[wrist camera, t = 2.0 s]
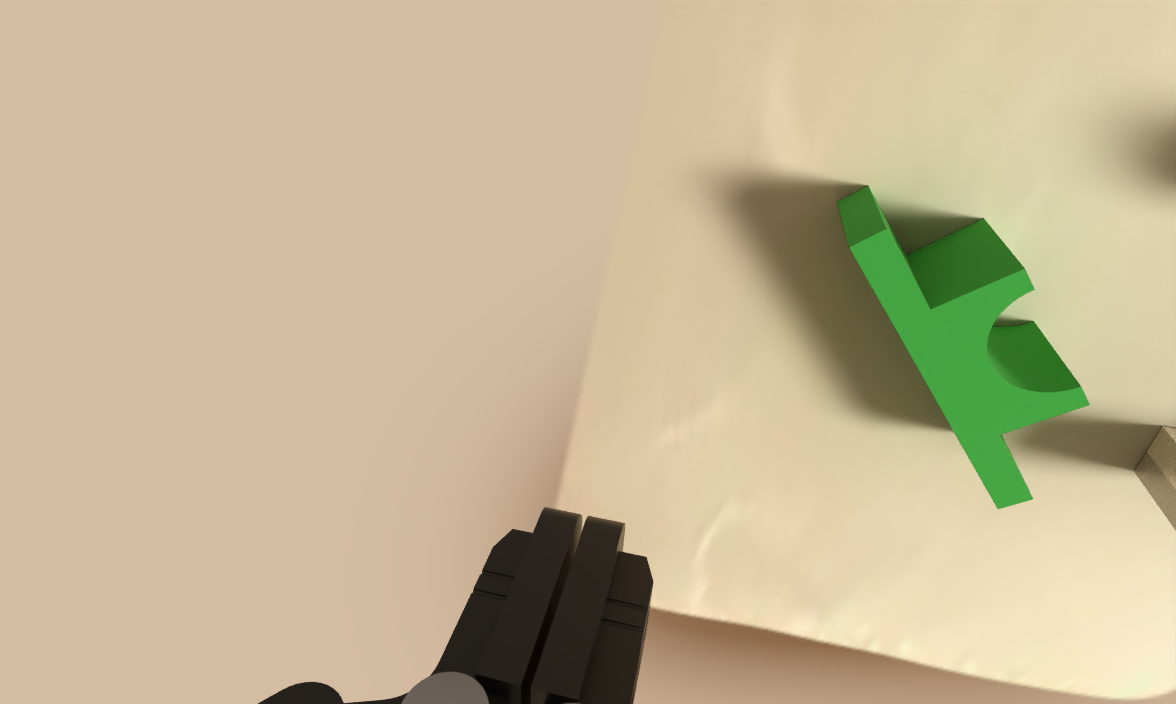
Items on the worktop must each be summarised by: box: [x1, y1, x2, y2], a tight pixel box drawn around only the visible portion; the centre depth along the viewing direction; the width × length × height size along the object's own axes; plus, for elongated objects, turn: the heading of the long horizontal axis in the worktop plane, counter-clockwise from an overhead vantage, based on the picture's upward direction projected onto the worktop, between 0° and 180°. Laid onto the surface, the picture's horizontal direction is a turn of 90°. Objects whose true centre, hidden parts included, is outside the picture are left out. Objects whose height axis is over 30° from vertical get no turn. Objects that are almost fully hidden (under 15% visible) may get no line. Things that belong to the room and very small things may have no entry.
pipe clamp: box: [837, 186, 1090, 509], centre depth 22 cm, size 11×4×5 cm, turn 36°
